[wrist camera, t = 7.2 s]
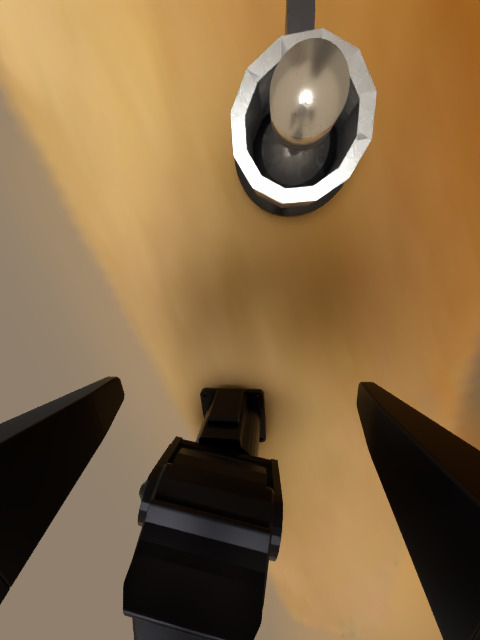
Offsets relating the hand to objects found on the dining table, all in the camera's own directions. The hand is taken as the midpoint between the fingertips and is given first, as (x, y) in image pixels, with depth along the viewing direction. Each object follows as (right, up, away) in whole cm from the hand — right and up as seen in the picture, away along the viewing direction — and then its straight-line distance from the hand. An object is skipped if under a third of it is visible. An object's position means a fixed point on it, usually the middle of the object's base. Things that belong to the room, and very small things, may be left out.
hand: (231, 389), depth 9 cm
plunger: (+4, +14, +7) cm, 16 cm away
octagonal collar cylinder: (+4, +14, +8) cm, 17 cm away
